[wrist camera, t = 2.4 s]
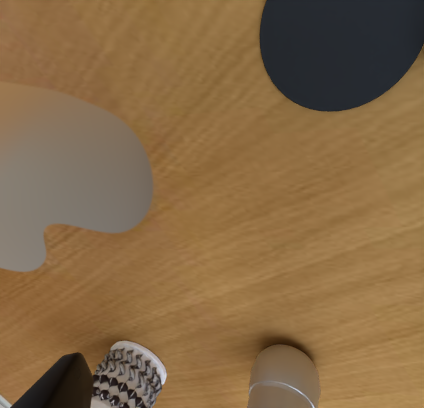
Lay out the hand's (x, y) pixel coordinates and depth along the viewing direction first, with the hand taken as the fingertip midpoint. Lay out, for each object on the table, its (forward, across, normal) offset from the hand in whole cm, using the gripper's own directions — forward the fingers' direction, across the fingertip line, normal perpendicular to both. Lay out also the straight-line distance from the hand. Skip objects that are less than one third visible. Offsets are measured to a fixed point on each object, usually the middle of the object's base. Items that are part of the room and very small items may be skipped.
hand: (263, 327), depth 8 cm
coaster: (+14, -8, -7) cm, 18 cm away
